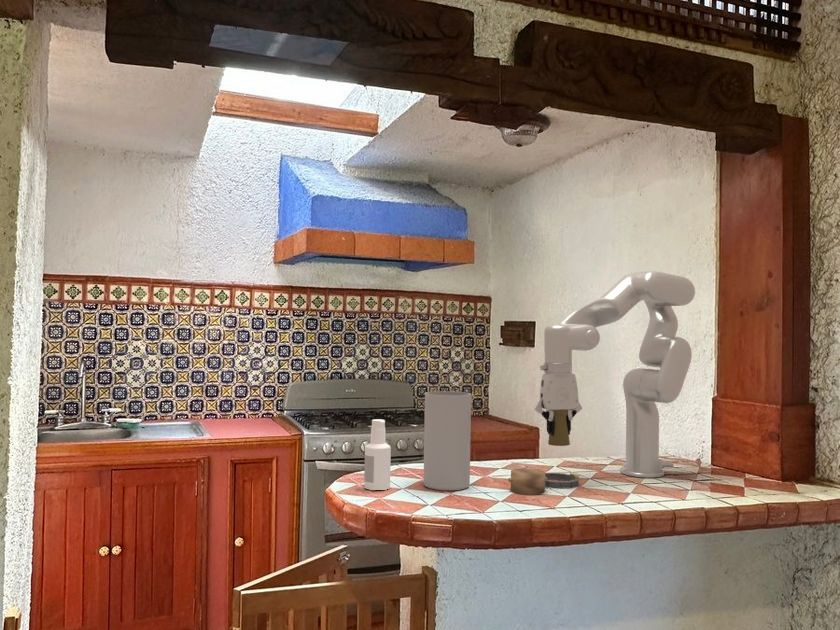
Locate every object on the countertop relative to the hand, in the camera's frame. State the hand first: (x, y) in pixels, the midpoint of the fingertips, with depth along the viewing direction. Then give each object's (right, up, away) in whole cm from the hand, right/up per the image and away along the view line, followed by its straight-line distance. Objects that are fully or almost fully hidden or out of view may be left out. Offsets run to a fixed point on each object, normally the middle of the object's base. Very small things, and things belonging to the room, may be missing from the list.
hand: (558, 433), depth 193 cm
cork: (0, -3, 0) cm, 3 cm away
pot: (-10, -13, -11) cm, 20 cm away
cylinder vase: (-32, -13, -7) cm, 35 cm away
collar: (-1, -14, -1) cm, 14 cm away
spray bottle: (-50, -13, -11) cm, 53 cm away
